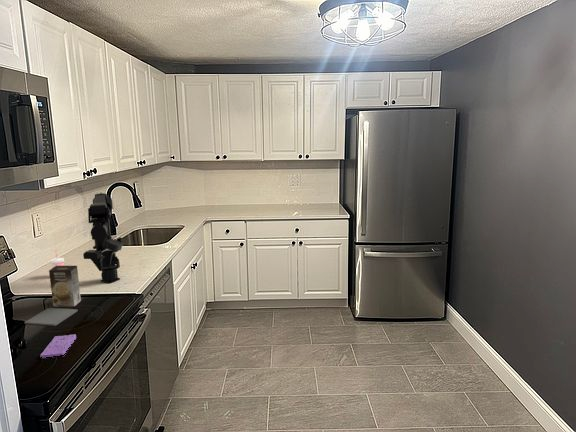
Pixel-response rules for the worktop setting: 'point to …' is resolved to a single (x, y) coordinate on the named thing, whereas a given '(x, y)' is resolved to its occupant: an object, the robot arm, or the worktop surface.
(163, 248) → the worktop surface
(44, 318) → the tipping mat
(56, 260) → the beverage cup
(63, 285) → the coffee box
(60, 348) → the sponges
